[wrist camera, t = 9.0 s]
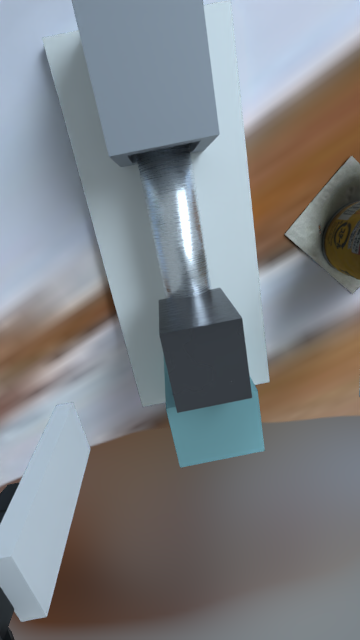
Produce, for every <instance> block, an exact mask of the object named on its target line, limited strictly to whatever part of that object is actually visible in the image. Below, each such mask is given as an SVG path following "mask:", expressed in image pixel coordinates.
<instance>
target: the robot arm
mask: <svg viewBox="0 0 360 640" xmlns="http://www.w3.org/2000/svg"><path fill="white" fill-rule="evenodd" d="M359 397H360V390H359ZM89 452H90V447H89V444H88V441H87V438H86V436H85V433H84V430H83V428H82V425H81V422H80V420H79V417H78V414H77V412H76V409H75V406H74V404H73V402H71V403H66V404H61V405H56V407H55V409H54V411H53V413H52V415H51V418H50V420H49V422H48V424H47V426H46V428H45V430H44V432H43V435H42V437H41V439H40V441H39V443H38V445H37V447H36V449H35V452H34V454H33V456H32V458H31V460H30V462H29V464H28V466H27V468H26V471H25V473H24V475H23V477H22V479H21V481H20V483H15V484H10V485H7V487H6V488H5V489H4V490H3V491H2V492H1V493H0V640H14V637H13V634H12V632H11V630H10V629H9V627H8V626H9V623H10V620H11V617H12V614H13V611H15V613H16V614H17V616H18V617H19V619H20V621H27V620H32V619H38V618H43V617H47V614H48V611H49V607H50V603H51V599H52V595H53V591H54V587H55V583H56V580H57V576H58V572H59V568H60V564H61V560H62V557H63V552H64V549H65V545H66V541H67V537H68V533H69V529H70V525H71V522H72V518H73V514H74V510H75V506H76V503H77V498H78V495H79V491H80V487H81V483H82V479H83V476H84V472H85V468H86V464H87V460H88V456H89Z"/></svg>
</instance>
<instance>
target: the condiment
mask: <svg viewBox="0 0 360 640" xmlns="http://www.w3.org/2000/svg"><path fill="white" fill-rule="evenodd" d="M319 225H320V226H321V229H320V230H319V228H318V226H319ZM319 231H321V234H320V235H319ZM285 235H286V236H287V237H288V238H289V239H291V240H292V241H293V242H294V243H295V244H296V245H297V246H298V247H300V248H301V249H302V250H303V251H304V252H305V253H306V254H307V255H309V256H310V257H311V258H312V259H313V260H314V261H315V262H316V263H318V264H319V265H320V266H321V267H322V268H323V269H324V270H325V271H327V272H328V273H329V274H330V275H331V276H332V277H333V278H334V279H336V280H337V281H338V282H339V283H340V284H341V285H342V286H343V287H345V288H346V289H347V290H348V291H349V292H350V293H352V294H353V293H354V292H355V291H356V290H357V289H358V288H359V287H360V164H359V163H358V162H357V161H356V160H355V159H354V158H353V156H351V157H350V158H349V159H348V160H347V161H346V162H345V164H344V165H343V166H342V167H341V168H340V169H339V170H338V171H337V173H336V174H335V175H334V176H333V177H332V178H331V180H330V181H329V182H328V183H327V184H326V185H325V186H324V188H323V189H322V190H321V191H320V192H319V194H318V195H317V196H316V197H315V198H314V200H313V201H312V202H311V203H310V204H309V205H308V207H307V208H306V209H305V211H304V212H303V213H302V214H301V215H300V216H299V218H298V219H297V220H296V221H295V222H294V224H293V225H292V226H291V227H290V229H289V230H288V231H287V232H286V233H285Z"/></svg>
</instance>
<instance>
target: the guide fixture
mask: <svg viewBox="0 0 360 640" xmlns="http://www.w3.org/2000/svg"><path fill="white" fill-rule="evenodd" d="M72 4H73V8H74V12H75V17H76V21H77V25H78V29H79V30H78V31H73V32H68V33H63V34H58V35H53V36H48V37H43V38H42V40H43V44H44V48H45V51H46V55H47V59H48V62H49V66H50V70H51V73H52V77H53V81H54V84H55V88H56V92H57V95H58V99H59V103H60V106H61V110H62V114H63V117H64V121H65V125H66V128H67V132H68V136H69V139H70V143H71V147H72V150H73V154H74V158H75V161H76V165H77V169H78V172H79V176H80V180H81V183H82V187H83V190H84V194H85V198H86V201H87V205H88V209H89V212H90V216H91V220H92V223H93V227H94V231H95V234H96V238H97V242H98V245H99V249H100V253H101V256H102V260H103V264H104V267H105V271H106V275H107V278H108V282H109V286H110V289H111V293H112V297H113V300H114V304H115V308H116V311H117V315H118V319H119V322H120V326H121V330H122V333H123V337H124V341H125V344H126V348H127V352H128V355H129V359H130V363H131V366H132V370H133V374H134V377H135V381H136V385H137V388H138V392H139V396H140V399H141V403H142V407H146V406H151V405H156V404H162V403H166V411H167V415H168V419H169V423H170V427H171V431H172V435H173V440H174V444H175V448H176V452H177V456H178V460H179V465H180V467H185V466H190V465H196V464H201V463H205V462H210V461H216V460H221V459H226V458H231V457H236V456H241V455H246V454H251V453H256V452H261V451H264V441H263V433H262V424H261V416H260V407H259V399H258V390H257V389H256V387H255V385H257V384H262V383H267V382H269V372H268V362H267V352H266V342H265V332H264V323H263V313H262V303H261V293H260V283H259V273H258V263H257V253H256V244H255V234H254V224H253V214H252V204H251V194H250V184H249V174H248V165H247V155H246V145H245V135H244V125H243V115H242V105H241V95H240V86H239V76H238V66H237V56H236V46H235V36H234V26H233V17H232V7H231V0H227V1H222V2H217V3H212V4H207V5H203V0H72ZM188 143H189V146H190V152H191V159H192V165H193V171H194V178H195V184H196V191H197V197H198V203H199V210H200V216H201V222H202V229H203V235H204V242H205V248H206V254H207V261H208V267H209V274H210V280H211V286H212V289H216V288H221V289H222V291H223V292H224V293H225V295H226V296H227V298H228V299H229V300H230V302H231V303H232V304H233V306H234V307H235V309H236V310H237V311H238V313H239V314H240V316H241V317H242V320H243V328H244V336H245V344H246V352H247V360H248V368H249V376H250V384H251V392H252V398H250V399H245V400H240V401H235V402H230V403H225V404H220V405H215V406H210V407H205V408H200V409H195V410H189V411H184V412H179V413H177V410H176V406H175V401H174V397H173V393H172V388H171V384H170V380H169V375H168V371H167V366H166V362H165V358H164V353H163V349H162V345H161V340H160V336H159V300H161V299H166V296H165V292H164V287H163V282H162V277H161V273H160V268H159V263H158V258H157V254H156V249H155V244H154V240H153V235H152V230H151V225H150V221H149V216H148V211H147V206H146V202H145V197H144V192H143V188H142V183H141V178H140V173H139V169H138V164H137V159H136V154H138V153H143V152H148V151H153V150H158V149H163V148H168V147H173V146H178V145H183V144H188Z"/></svg>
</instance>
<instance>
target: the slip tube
mask: <svg viewBox="0 0 360 640" xmlns="http://www.w3.org/2000/svg"><path fill="white" fill-rule="evenodd" d="M136 159H137V164H138V169H139V173H140V178H141V183H142V188H143V192H144V197H145V202H146V206H147V211H148V216H149V221H150V225H151V230H152V235H153V240H154V244H155V249H156V254H157V258H158V263H159V268H160V273H161V277H162V282H163V287H164V292H165V296H166V299H161V300H159V336H160V340H161V345H162V349H163V353H164V358H165V362H166V366H167V371H168V375H169V380H170V384H171V388H172V393H173V397H174V401H175V406H176V410H177V413H179V412H184V411H189V410H195V409H200V408H205V407H210V406H215V405H220V404H225V403H230V402H235V401H240V400H245V399H250V398H252V392H251V384H250V376H249V368H248V360H247V352H246V344H245V336H244V328H243V320H242V317H241V316H240V314H239V313H238V311H237V310H236V309H235V307H234V306H233V304H232V303H231V302H230V300H229V299H228V298H227V296H226V295H225V293H224V292H223V291H222V289H221V288H216V289H212V286H211V280H210V274H209V267H208V261H207V254H206V248H205V242H204V235H203V229H202V222H201V216H200V210H199V203H198V197H197V191H196V184H195V178H194V171H193V165H192V159H191V152H190V146H189V143H188V144H183V145H178V146H173V147H168V148H163V149H158V150H153V151H148V152H143V153H138V154H136Z"/></svg>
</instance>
